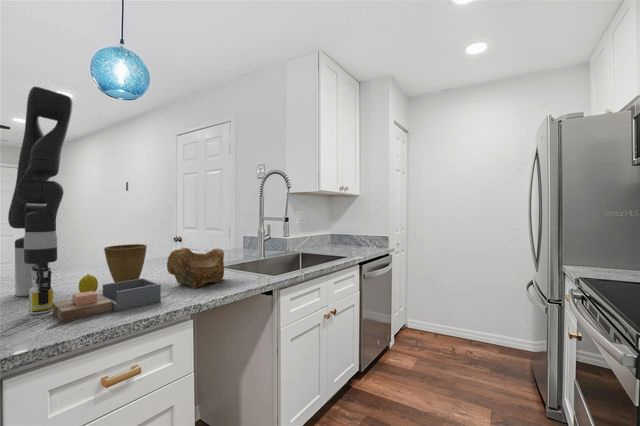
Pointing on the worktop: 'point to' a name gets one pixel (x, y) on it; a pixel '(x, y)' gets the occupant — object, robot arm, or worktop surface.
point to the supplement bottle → (33, 301)
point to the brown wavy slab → (81, 309)
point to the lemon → (88, 284)
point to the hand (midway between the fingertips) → (41, 302)
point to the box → (132, 293)
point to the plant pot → (125, 261)
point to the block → (84, 298)
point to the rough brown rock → (196, 267)
